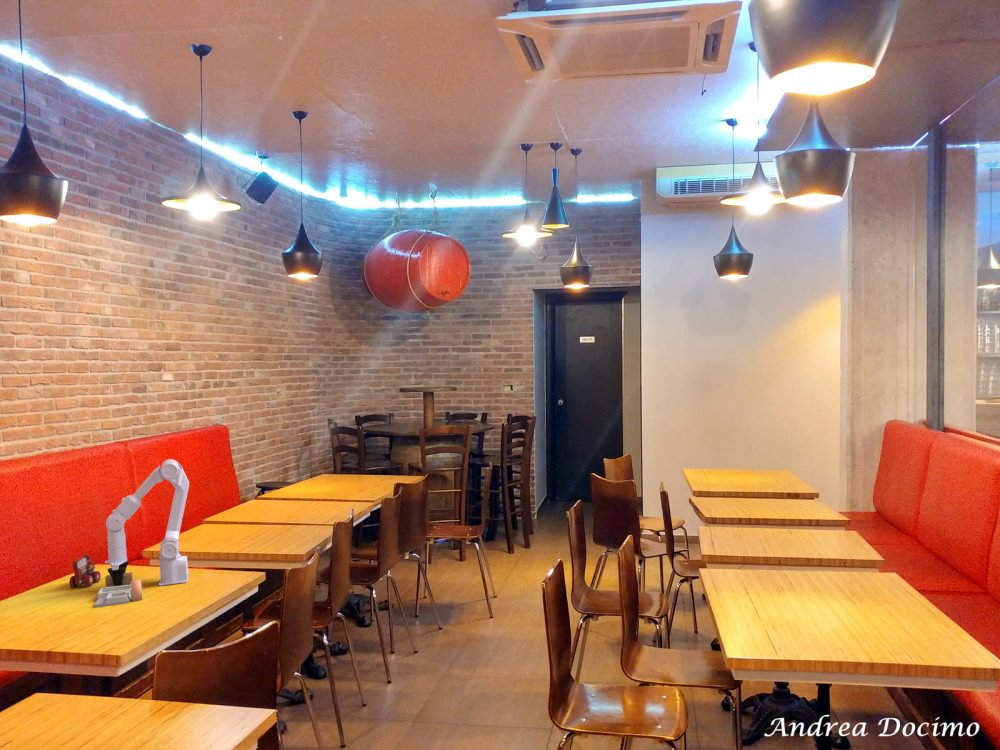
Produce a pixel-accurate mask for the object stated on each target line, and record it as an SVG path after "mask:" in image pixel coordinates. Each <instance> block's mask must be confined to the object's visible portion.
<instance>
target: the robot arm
mask: <svg viewBox="0 0 1000 750" xmlns="http://www.w3.org/2000/svg"><path fill="white" fill-rule="evenodd" d="M164 480H166V481H168V482H170V484H172V486H173V487H174V488H175V489H174V494H173V498H172V504H171V507H170V513H169V517H168V523H167V527H166V531H165V536H164V537H163V539H162V540H161V542H160V548H159V554H160V556H159V557H158V559H159V572H160V574H159V575H160V580H159V582H158V586H159V587H160V586H161V587H162V586H167V585H169V586H170V585H176V584H184V583H185V584H186V583H188V581H189V577H190V571H189V566H188V565H189V564H188V556H187V555H181V553H180V551H179V550H180V541H179V538H180V533H181V527H182V522H183V517H184V512H185V507H186V504H187V502H186V501H187V499H188V498H187V497H188V493H189V489H190V488H189V487H190V481H189V479H188V477H187V475H186V473H185V471H184V468H183V466H182V465H181V464H180V463H179V462H178V461H177V460H175V459H172V458H169V459H165V460H164V461H163V462H162V463H161V465H158V467H156V468H155V469H154V470H153V471H152V472H151V473H150V474H149V475H148V476H147V478H146V479H144V481H143V482H142V483H141V485H140V486H139V487H138V488H137V490H136V491H135V492H134V493H133V494H131V495H130V494H129V495H126V497H123V498H122V499H121V503H120V504H119V505H118V506H117V507H116V508H115V509H112V511H111V514H109V516H108V517H107V519H106V521H105V527H106V529H107V530H106V531H107V550H108V552H107V553H108V559H107V560H105V561H104V563H105V564H109V565H110V567H108V568H107V573H109V574H108V575H111V577H112V580H113V583H114V586H122V582H123V574H124V573H127V571H126V570H127V566H128V565H129V561H128V556H127V544H126V543H127V540H126V533H125V524H126V521H127V520H129V519H131V517H132V516H133V515H134V514H135V513H136V512H137V510H139V508H140V507H141V505H142V502H141V500H142V499H143V498H144V497H145V496H146V495H147V494H148V492H149V491H150V490H152V488H154V486H155V485H156V484H159V483H162V482H164Z"/></svg>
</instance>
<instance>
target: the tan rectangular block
mask: <svg viewBox="0 0 1000 750" xmlns="http://www.w3.org/2000/svg"><path fill="white" fill-rule="evenodd" d="M104 580H105V588H106V587H114V583H113V580H112V577H111V575H110V574H107V575H106V576H105V578H104ZM133 580H134V579H133V572H125V573H124V574H123V582H122V585H130V584H131V581H133Z"/></svg>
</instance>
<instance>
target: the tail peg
mask: <svg viewBox="0 0 1000 750" xmlns="http://www.w3.org/2000/svg"><path fill="white" fill-rule="evenodd" d="M142 589H143V588H142V580H141V579H133V581H131V597H132V598H131V602H139V601H142V600H143V590H142Z"/></svg>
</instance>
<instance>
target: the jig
mask: <svg viewBox="0 0 1000 750" xmlns="http://www.w3.org/2000/svg"><path fill="white" fill-rule="evenodd" d="M131 601H132V597H131V584H130V585H122V586H114V587H106V586H105V587H101V588H100V589H99V590H98V593H97V600H96V602H95V603H94V606H93V608H99V607H109V606H115V605H123V604H129V603H130V602H131Z"/></svg>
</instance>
